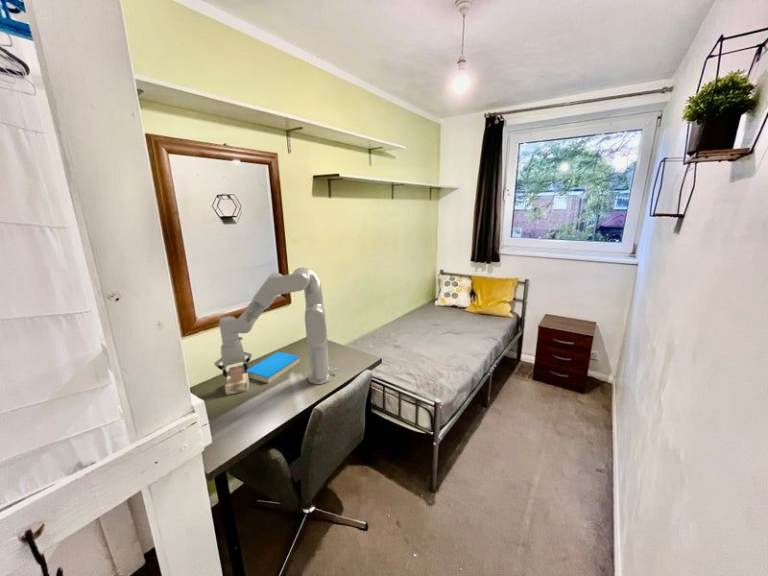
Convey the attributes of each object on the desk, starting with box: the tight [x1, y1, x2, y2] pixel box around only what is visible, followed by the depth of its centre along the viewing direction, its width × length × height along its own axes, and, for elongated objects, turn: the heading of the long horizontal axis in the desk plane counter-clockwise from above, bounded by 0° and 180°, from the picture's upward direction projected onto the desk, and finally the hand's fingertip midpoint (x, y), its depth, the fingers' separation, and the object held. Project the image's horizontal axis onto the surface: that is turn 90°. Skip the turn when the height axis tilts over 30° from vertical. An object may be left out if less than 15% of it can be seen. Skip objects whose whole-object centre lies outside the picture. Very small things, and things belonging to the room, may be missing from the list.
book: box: [244, 351, 300, 384], centre depth 180 cm, size 17×4×25 cm
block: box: [228, 364, 243, 383], centre depth 161 cm, size 5×5×6 cm
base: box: [224, 372, 250, 396], centre depth 163 cm, size 10×10×5 cm
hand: (235, 373), depth 161 cm, fingers open, 8 cm apart
